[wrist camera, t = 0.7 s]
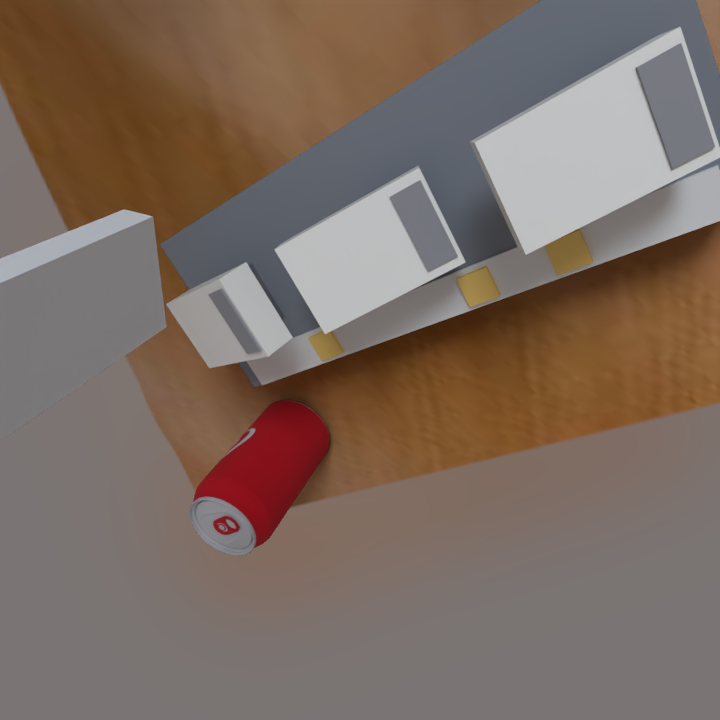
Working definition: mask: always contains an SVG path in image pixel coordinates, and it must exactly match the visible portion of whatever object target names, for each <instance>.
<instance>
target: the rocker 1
mask: <svg viewBox="0 0 720 720" xmlns="http://www.w3.org/2000/svg"><path fill="white" fill-rule="evenodd" d="M166 305H167V307H168V308H169V309H170V311H171V312H172V314H173V315H174V317H175V318H176V320H177V321H178V323H179V324H180V326H181V327H182V329H183V330H184V332H185V333H186V334H187V336H188V337H189V339H190V340H191V342H192V343H193V345H194V346H195V348H196V349H197V351H198V352H199V354H200V355H201V357H202V358H203V360H204V361H205V362H206V364H207V365H208V367H209V368H213V367H218V366H223V365H228V364H233V363H239V362H244V361H249V360H254V359H259V358H264V357H269V356H270V355H271V354H272V353H274V352H275V351H276V350H278V349H279V348H280V347H281V346H283V345H284V344H285V343H287V342H288V341H289V340H290V339H292V338H293V337H292V335H291V334H290V332H289V331H288V329H287V327H286V326H285V324H284V322H283V321H282V319H281V318H280V316H279V314H278V313H277V311H276V309H275V308H274V306H273V305H272V303H271V301H270V300H269V298H268V297H267V295H266V293H265V292H264V290H263V288H262V287H261V285H260V284H259V282H258V280H257V279H256V277H255V275H254V274H253V272H252V271H251V269H250V267H249V266H248V264H247V263H246V262H245V263H243V264H241V265H239V266H237V267H235V268H233V269H231V270H229V271H227V272H225V273H223V274H221V275H219V276H216V277H214V278H212V279H210V280H208V281H206V282H204V283H202V284H200V285H198V286H196V287H194V288H192V289H190V290H188V291H187V292H185V293H183V294H182V295H180V296H179V297H177V298H175V299H174V300H172V301H170V302H169V303H167V304H166Z"/></svg>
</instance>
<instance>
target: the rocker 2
mask: <svg viewBox="0 0 720 720" xmlns="http://www.w3.org/2000/svg"><path fill="white" fill-rule="evenodd" d="M274 250H275V251H276V253H277V255H278V256H279V258H280V260H281V262H282V263H283V265H284V267H285V268H286V270H287V272H288V273H289V275H290V277H291V278H292V280H293V282H294V283H295V285H296V287H297V288H298V290H299V292H300V293H301V295H302V297H303V298H304V300H305V302H306V303H307V305H308V307H309V308H310V310H311V312H312V313H313V315H314V317H315V318H316V320H317V322H318V323H319V325H320V327H321V328H322V330H323V332H324V334H327V333H329V332H330V331H332V330H334V329H336V328H338V327H340V326H342V325H344V324H346V323H348V322H350V321H352V320H354V319H356V318H358V317H360V316H362V315H364V314H366V313H368V312H370V311H372V310H374V309H376V308H377V307H379V306H381V305H383V304H385V303H387V302H389V301H391V300H393V299H395V298H397V297H399V296H401V295H403V294H405V293H407V292H409V291H411V290H413V289H415V288H417V287H419V286H421V285H423V284H424V283H426V282H428V281H430V280H432V279H434V278H436V277H438V276H440V275H442V274H444V273H446V272H448V271H450V270H452V269H454V268H456V267H458V266H460V265H462V264H464V263H466V262H465V260H464V257H463V255H462V253H461V251H460V249H459V247H458V245H457V243H456V241H455V239H454V237H453V235H452V233H451V231H450V229H449V227H448V225H447V223H446V221H445V219H444V216H443V214H442V212H441V210H440V208H439V206H438V204H437V202H436V200H435V198H434V196H433V194H432V192H431V190H430V188H429V186H428V184H427V182H426V180H425V178H424V176H423V174H422V172H421V170H420V168H419V166H416V167H415V168H413V169H411V170H409V171H408V172H406V173H404V174H402V175H401V176H399V177H397V178H395V179H393V180H392V181H390V182H388V183H386V184H385V185H383V186H381V187H379V188H378V189H376V190H374V191H372V192H371V193H369V194H367V195H365V196H364V197H362V198H360V199H358V200H356V201H355V202H353V203H351V204H349V205H348V206H346V207H344V208H342V209H341V210H339V211H337V212H335V213H334V214H332V215H330V216H328V217H327V218H325V219H323V220H321V221H319V222H318V223H316V224H314V225H312V226H311V227H309V228H307V229H305V230H304V231H302V232H300V233H298V234H297V235H295V236H293V237H291V238H290V239H288V240H286V241H284V242H282V243H281V244H280V245H279V246H278V247H277V248H276V249H274Z"/></svg>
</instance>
